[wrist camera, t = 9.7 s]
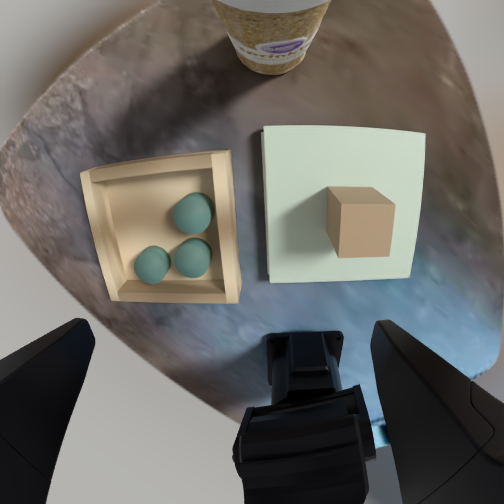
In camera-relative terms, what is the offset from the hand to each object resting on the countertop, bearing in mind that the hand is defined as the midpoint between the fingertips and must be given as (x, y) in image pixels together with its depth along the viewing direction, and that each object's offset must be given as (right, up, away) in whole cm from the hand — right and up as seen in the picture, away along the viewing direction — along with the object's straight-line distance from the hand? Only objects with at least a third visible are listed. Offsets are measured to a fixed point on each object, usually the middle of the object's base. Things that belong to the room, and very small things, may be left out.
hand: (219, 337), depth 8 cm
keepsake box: (-5, +4, +13) cm, 14 cm away
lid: (+7, +6, +11) cm, 14 cm away
